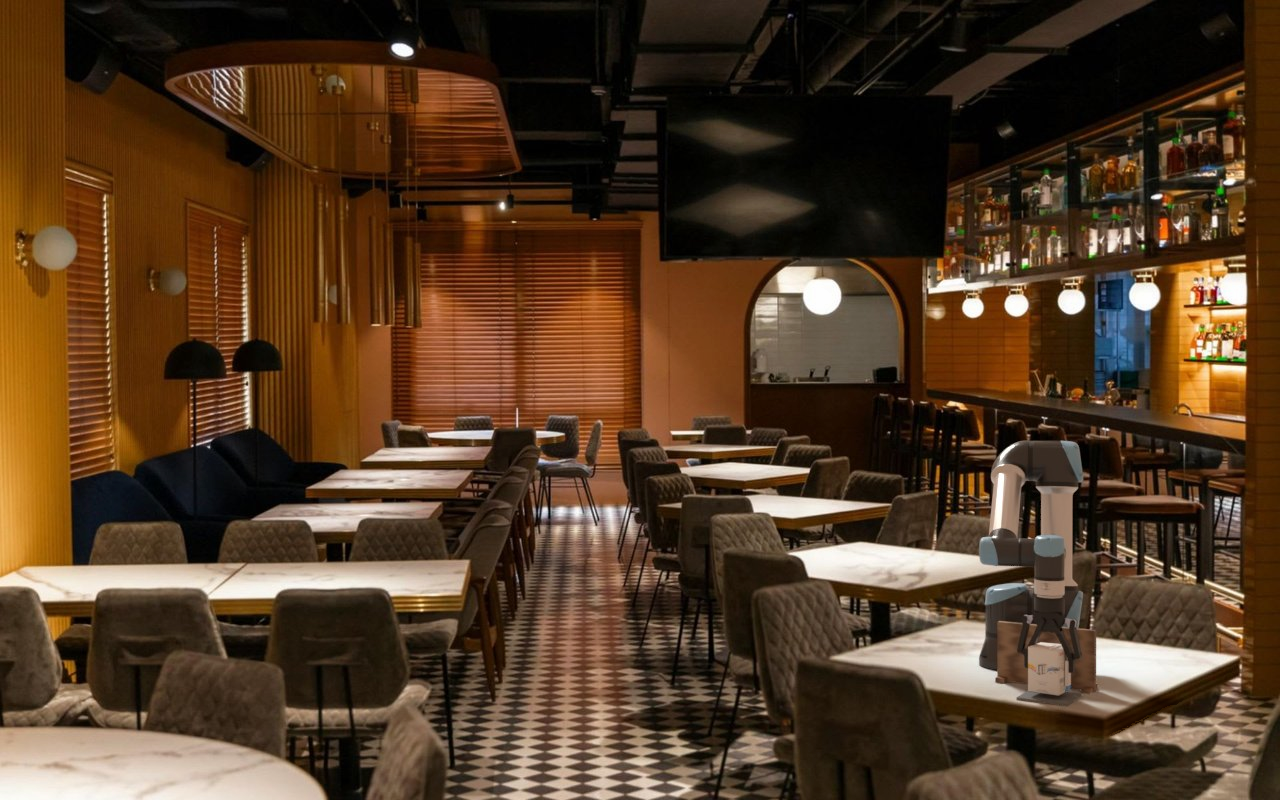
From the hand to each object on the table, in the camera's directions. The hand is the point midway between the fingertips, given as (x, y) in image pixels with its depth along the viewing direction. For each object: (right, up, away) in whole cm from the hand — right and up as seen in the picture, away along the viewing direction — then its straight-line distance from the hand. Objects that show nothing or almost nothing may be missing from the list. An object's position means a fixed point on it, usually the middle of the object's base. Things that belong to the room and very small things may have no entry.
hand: (1049, 682), depth 356 cm
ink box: (0, -2, 0) cm, 2 cm away
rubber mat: (0, -4, 0) cm, 4 cm away
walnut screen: (+3, -4, +15) cm, 15 cm away
